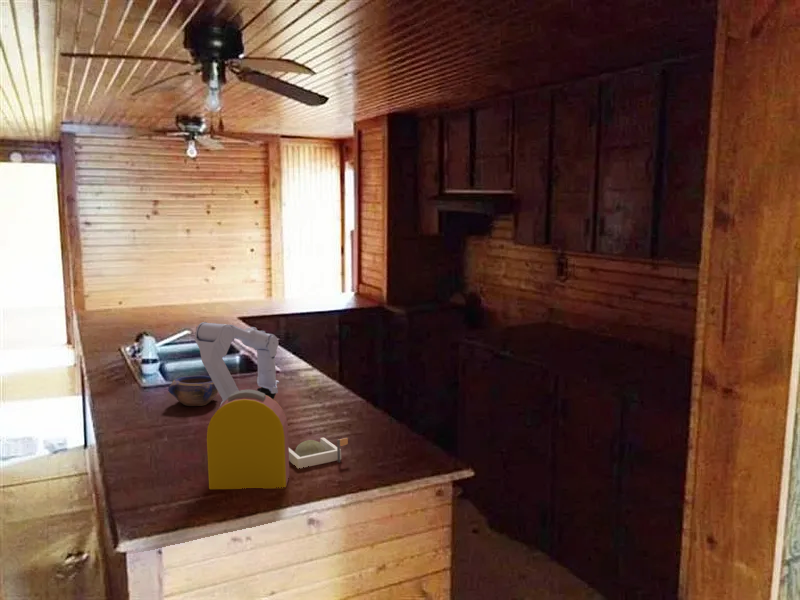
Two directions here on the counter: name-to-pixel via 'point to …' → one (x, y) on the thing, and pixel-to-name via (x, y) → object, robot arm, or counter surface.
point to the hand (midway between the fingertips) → (267, 409)
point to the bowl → (193, 390)
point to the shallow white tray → (319, 454)
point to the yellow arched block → (248, 443)
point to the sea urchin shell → (309, 448)
